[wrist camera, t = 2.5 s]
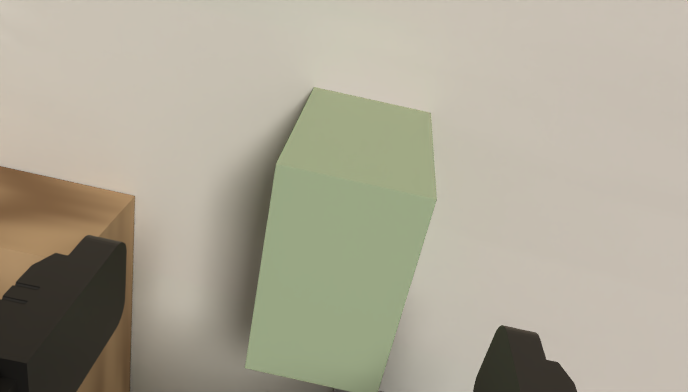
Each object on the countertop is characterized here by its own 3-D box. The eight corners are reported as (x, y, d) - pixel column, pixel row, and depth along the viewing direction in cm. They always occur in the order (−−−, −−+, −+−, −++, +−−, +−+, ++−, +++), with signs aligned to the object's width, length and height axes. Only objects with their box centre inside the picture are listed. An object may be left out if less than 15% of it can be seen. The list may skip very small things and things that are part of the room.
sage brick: (314, 86, 18) (276, 163, 13) (430, 112, 18) (436, 199, 13) (285, 252, 20) (244, 368, 16) (385, 275, 20) (375, 397, 16)
